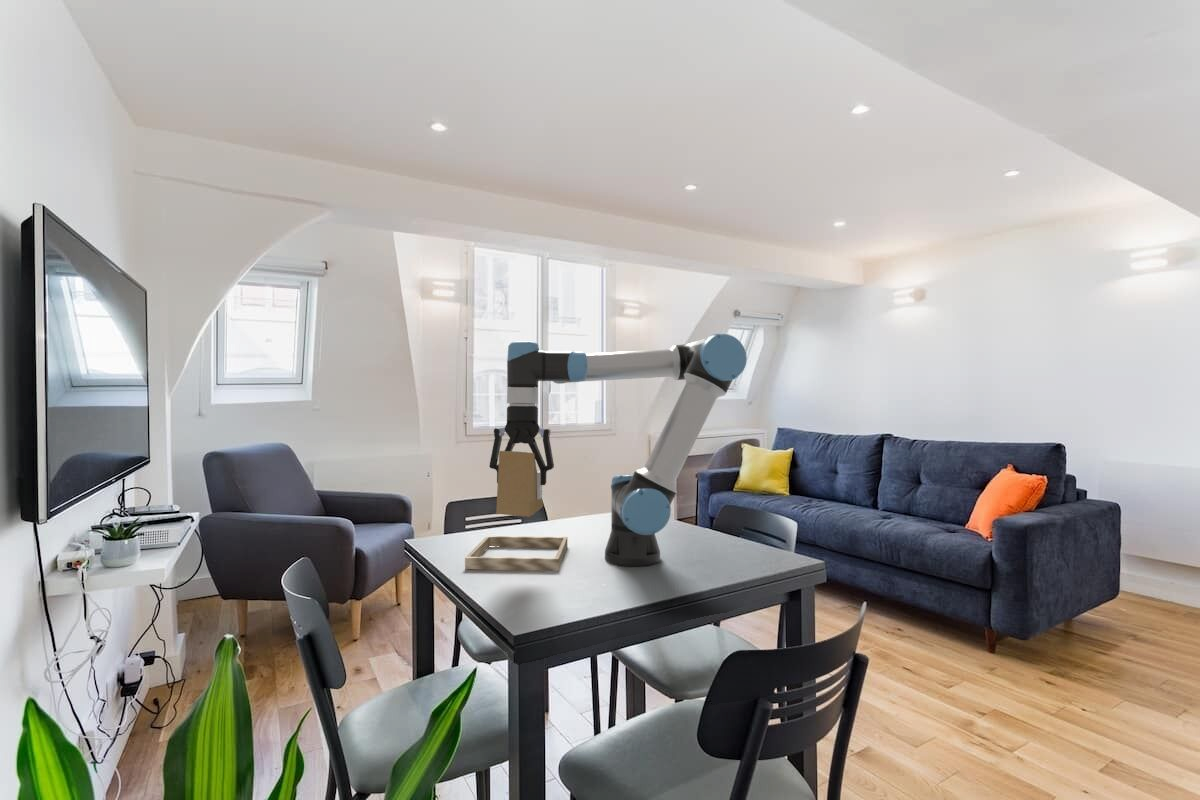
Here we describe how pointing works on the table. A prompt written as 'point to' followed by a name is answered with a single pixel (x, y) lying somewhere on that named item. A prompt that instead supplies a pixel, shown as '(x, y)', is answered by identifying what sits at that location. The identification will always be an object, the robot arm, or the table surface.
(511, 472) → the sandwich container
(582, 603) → the table surface
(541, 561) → the pale wooden box
